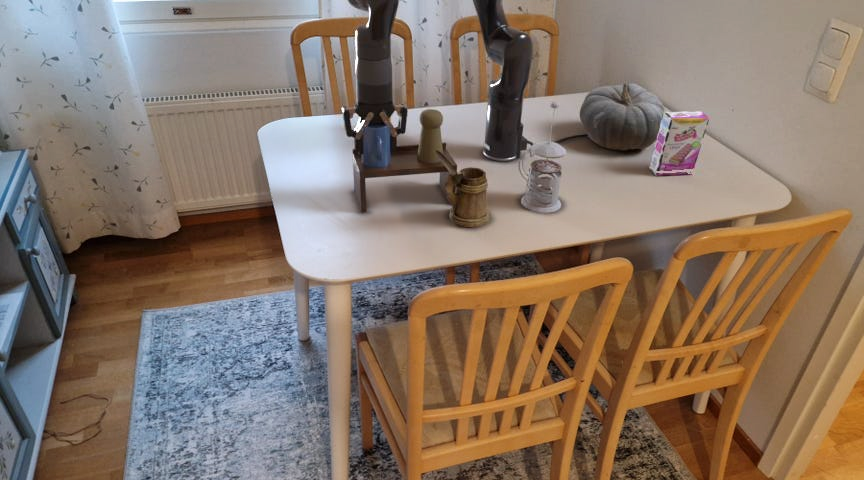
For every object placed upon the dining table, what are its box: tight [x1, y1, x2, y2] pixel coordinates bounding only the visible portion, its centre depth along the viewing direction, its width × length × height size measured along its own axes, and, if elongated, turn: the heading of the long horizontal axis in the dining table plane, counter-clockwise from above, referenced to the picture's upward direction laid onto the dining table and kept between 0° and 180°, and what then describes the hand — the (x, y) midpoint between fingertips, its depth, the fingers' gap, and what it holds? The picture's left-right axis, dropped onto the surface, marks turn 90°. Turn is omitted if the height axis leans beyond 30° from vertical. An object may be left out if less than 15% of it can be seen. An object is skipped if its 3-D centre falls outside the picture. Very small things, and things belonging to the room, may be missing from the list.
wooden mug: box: [436, 150, 490, 228], centre depth 138 cm, size 9×14×18 cm, turn 120°
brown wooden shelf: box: [351, 142, 458, 214], centre depth 146 cm, size 22×10×11 cm, turn 108°
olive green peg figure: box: [417, 108, 444, 163], centre depth 143 cm, size 6×6×11 cm
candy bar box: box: [648, 110, 710, 177], centre depth 168 cm, size 11×5×16 cm, turn 104°
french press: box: [518, 101, 567, 214], centre depth 146 cm, size 10×12×25 cm
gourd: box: [579, 82, 665, 151], centre depth 183 cm, size 25×25×17 cm
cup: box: [360, 122, 391, 167], centre depth 139 cm, size 6×8×9 cm
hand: (376, 152), depth 141 cm, fingers closed on cup, 6 cm apart
